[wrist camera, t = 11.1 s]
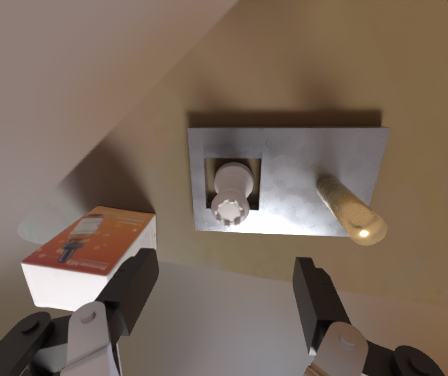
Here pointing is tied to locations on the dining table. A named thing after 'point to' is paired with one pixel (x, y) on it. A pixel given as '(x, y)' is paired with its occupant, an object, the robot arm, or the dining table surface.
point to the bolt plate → (297, 178)
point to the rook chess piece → (232, 193)
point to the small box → (86, 256)
